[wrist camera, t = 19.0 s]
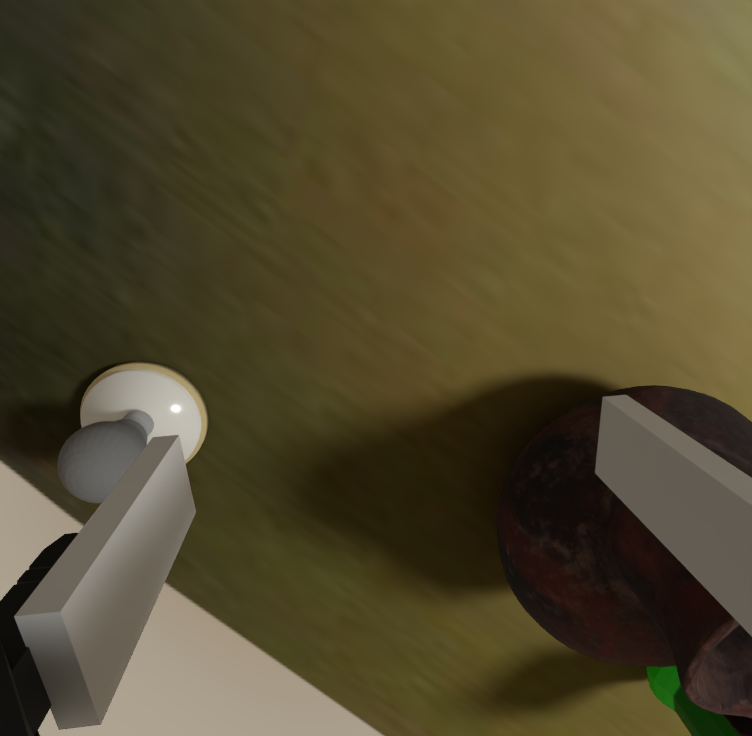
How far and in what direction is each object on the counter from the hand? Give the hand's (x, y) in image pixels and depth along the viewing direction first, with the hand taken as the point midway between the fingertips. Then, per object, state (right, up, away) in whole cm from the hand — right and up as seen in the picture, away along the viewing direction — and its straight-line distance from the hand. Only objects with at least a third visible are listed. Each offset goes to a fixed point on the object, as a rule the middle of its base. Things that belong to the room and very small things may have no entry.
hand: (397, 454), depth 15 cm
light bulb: (-21, -2, +28) cm, 35 cm away
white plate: (-22, -2, +29) cm, 36 cm away
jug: (+22, -8, +35) cm, 42 cm away
